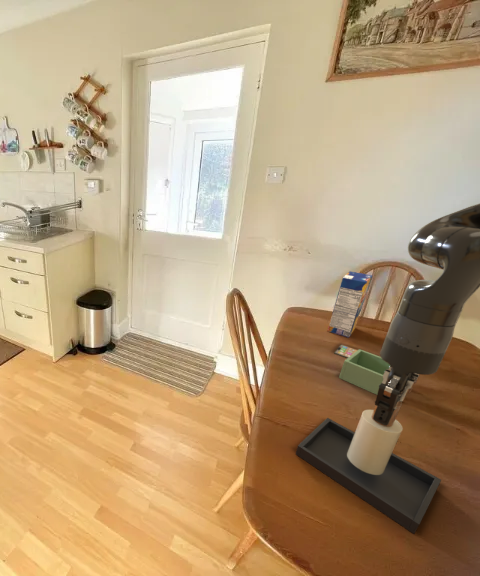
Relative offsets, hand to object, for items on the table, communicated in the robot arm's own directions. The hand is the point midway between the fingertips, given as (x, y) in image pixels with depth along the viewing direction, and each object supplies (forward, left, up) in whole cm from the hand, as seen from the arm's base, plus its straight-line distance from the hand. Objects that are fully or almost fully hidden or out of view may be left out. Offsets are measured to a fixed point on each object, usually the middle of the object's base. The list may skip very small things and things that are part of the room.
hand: (383, 417), depth 60 cm
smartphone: (+15, -49, -14) cm, 53 cm away
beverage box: (+28, -67, -14) cm, 74 cm away
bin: (+10, -36, -14) cm, 40 cm away
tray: (0, 0, -14) cm, 14 cm away
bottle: (0, 0, -12) cm, 12 cm away
